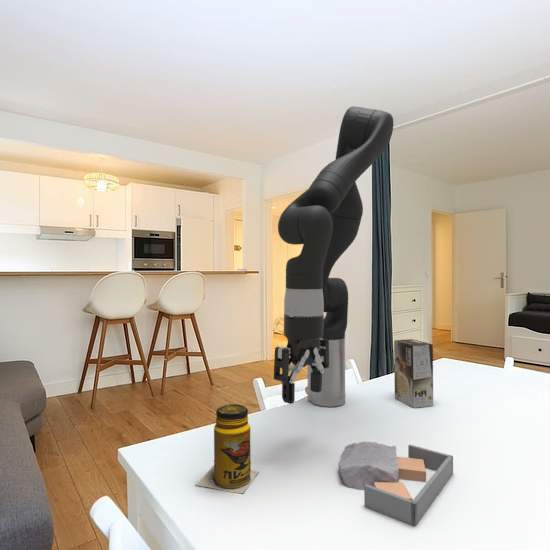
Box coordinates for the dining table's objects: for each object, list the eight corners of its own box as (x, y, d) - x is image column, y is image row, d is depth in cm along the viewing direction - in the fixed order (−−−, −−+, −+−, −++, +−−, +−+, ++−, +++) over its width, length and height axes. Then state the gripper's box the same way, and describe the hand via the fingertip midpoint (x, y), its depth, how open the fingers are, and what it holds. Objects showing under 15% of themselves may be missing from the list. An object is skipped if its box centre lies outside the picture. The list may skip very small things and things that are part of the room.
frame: (364, 506, 58) (364, 485, 58) (409, 460, 73) (409, 444, 73) (415, 526, 54) (415, 504, 54) (453, 473, 68) (452, 455, 68)
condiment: (243, 494, 62) (242, 417, 62) (194, 486, 64) (194, 412, 64) (259, 472, 69) (258, 403, 69) (214, 465, 71) (214, 398, 71)
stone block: (340, 500, 64) (404, 495, 61) (334, 469, 64) (398, 463, 62) (345, 467, 75) (399, 462, 73) (340, 442, 76) (393, 436, 73)
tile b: (397, 480, 66) (397, 468, 66) (396, 467, 71) (396, 456, 71) (426, 483, 65) (426, 471, 65) (423, 470, 70) (423, 459, 70)
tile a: (373, 495, 62) (373, 482, 62) (402, 495, 62) (402, 482, 62) (381, 512, 57) (381, 498, 57) (412, 512, 57) (412, 498, 57)
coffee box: (434, 406, 103) (434, 344, 103) (413, 408, 101) (413, 345, 101) (413, 395, 112) (412, 338, 112) (393, 397, 110) (392, 339, 110)
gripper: (310, 307, 83) (309, 384, 84) (263, 313, 73) (262, 401, 73) (340, 311, 78) (339, 392, 79) (295, 317, 68) (294, 411, 68)
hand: (302, 396), depth 76 cm, fingers open, 8 cm apart
